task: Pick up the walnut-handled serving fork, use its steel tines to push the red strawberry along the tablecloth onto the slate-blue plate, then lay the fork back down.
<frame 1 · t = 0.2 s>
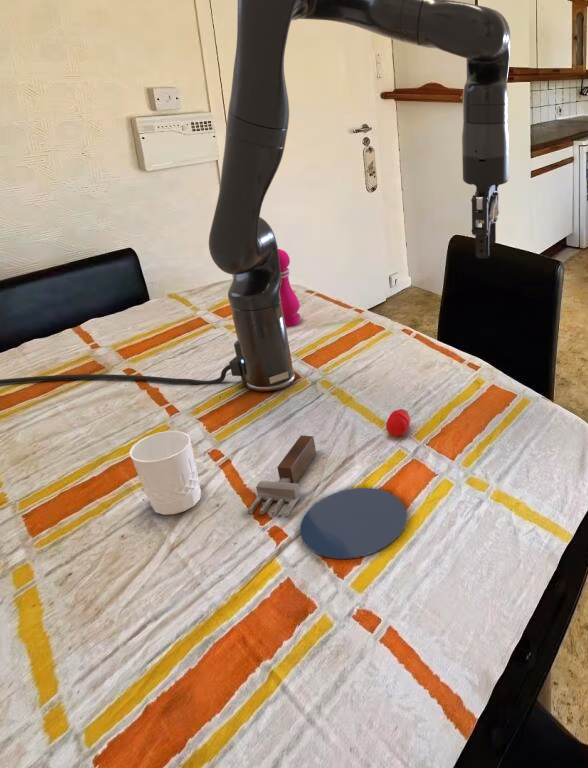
hand: (486, 250, 108), 29 cm above the table, tool pointing down, fingers open, 8 cm apart
fork: (299, 469, 101), on the table
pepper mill: (287, 323, 155), on the table
white cup: (177, 501, 94), on the table
plate: (354, 521, 90), on the table
strawberry: (399, 431, 110), on the table
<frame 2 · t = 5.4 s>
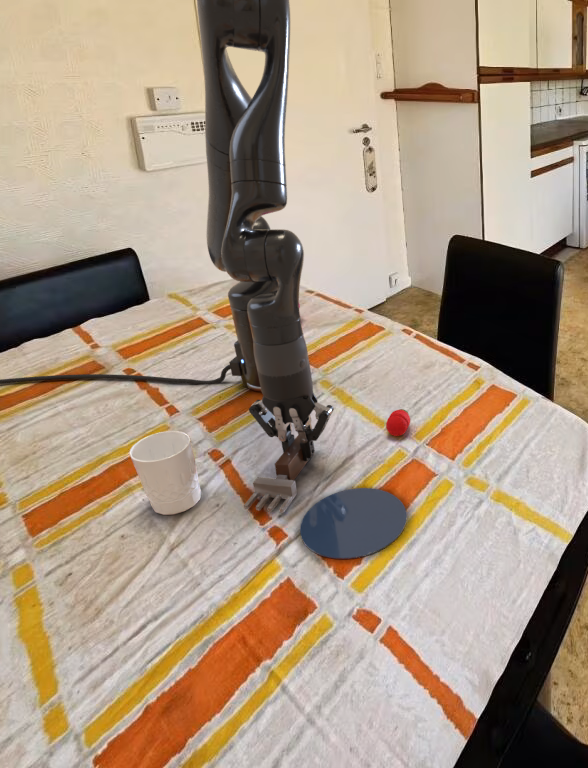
hand: (299, 457, 101), 1 cm above the table, tool pointing down, fingers closed on fork, 2 cm apart
fork: (296, 467, 100), on the table, touching gripper
everything else where it was.
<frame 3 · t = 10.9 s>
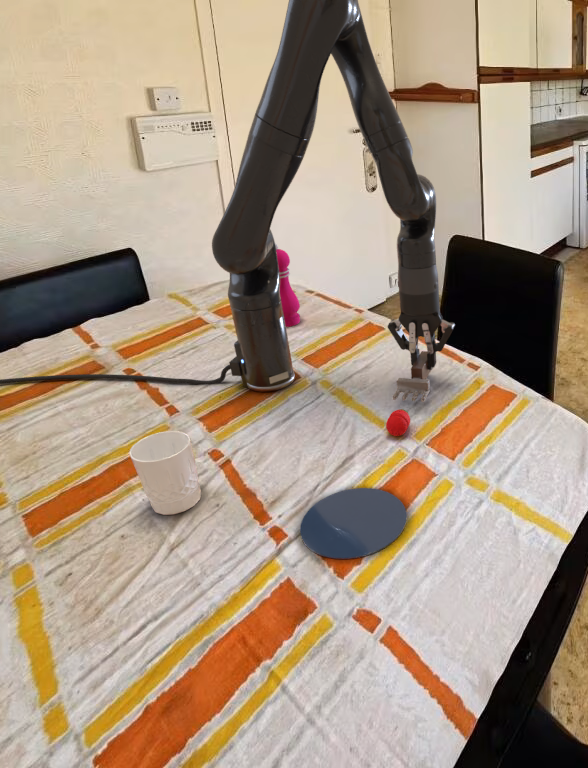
hand: (424, 367, 126), 3 cm above the table, tool pointing down, fingers closed on fork, 2 cm apart
fork: (422, 376, 125), point 2 cm above the table, touching gripper
everything else where it was.
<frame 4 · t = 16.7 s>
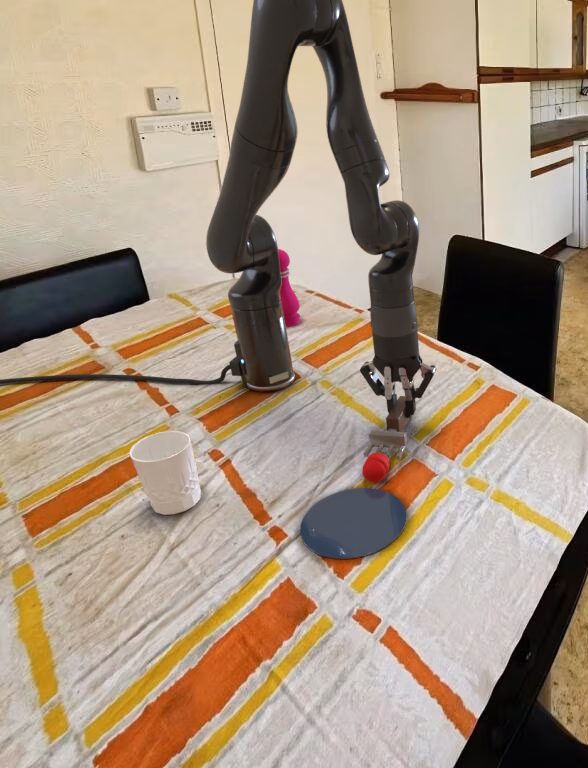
hand: (402, 414, 112), 2 cm above the table, tool pointing down, fingers closed on fork, 2 cm apart
fork: (400, 425, 111), point 1 cm above the table, touching gripper, strawberry
strawberry: (377, 476, 99), on the table, touching fork
everything else where it was.
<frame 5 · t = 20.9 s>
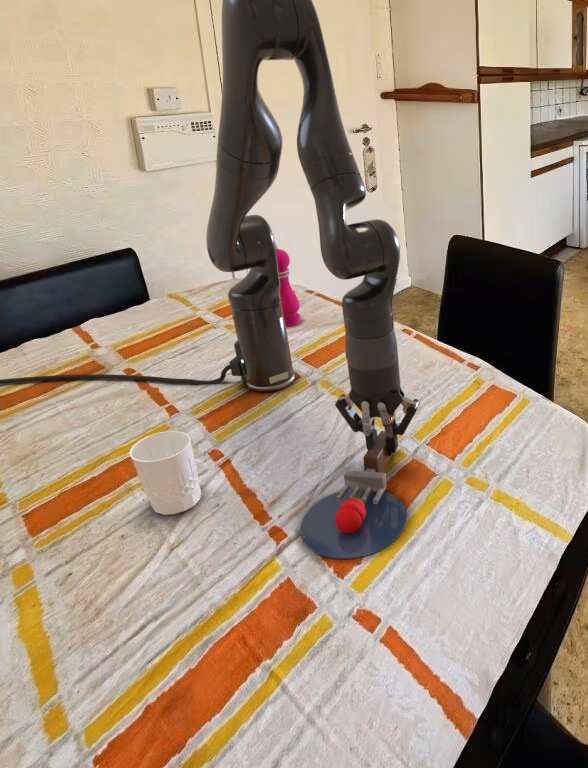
hand: (382, 452, 101), 2 cm above the table, tool pointing down, fingers closed on fork, 2 cm apart
fork: (380, 463, 100), point 1 cm above the table, tilted 6°, touching gripper, strawberry
strawberry: (352, 525, 88), resting on plate, touching fork
everything else where it was.
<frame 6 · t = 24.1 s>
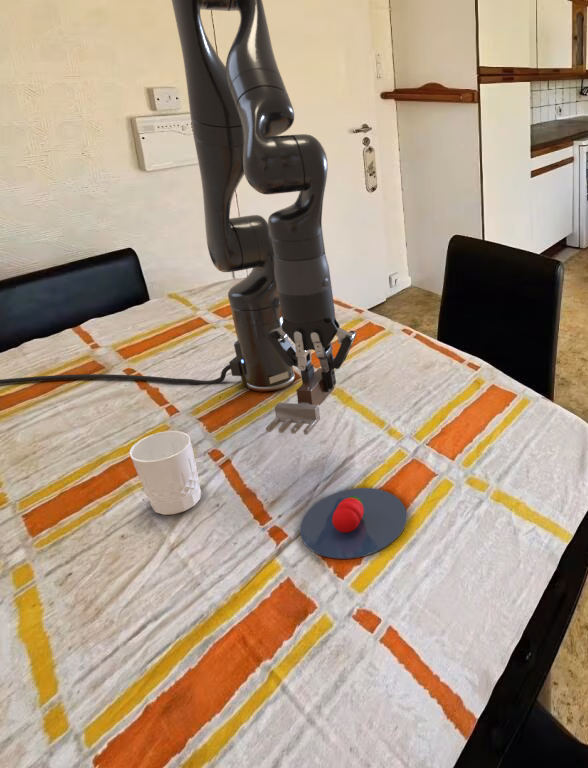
hand: (320, 389, 98), 13 cm above the table, tool pointing down, fingers closed on fork
fork: (317, 400, 97), point 12 cm above the table, tilted 6°, touching gripper
strawberry: (352, 525, 88), resting on plate, tilted 11°
everything else where it was.
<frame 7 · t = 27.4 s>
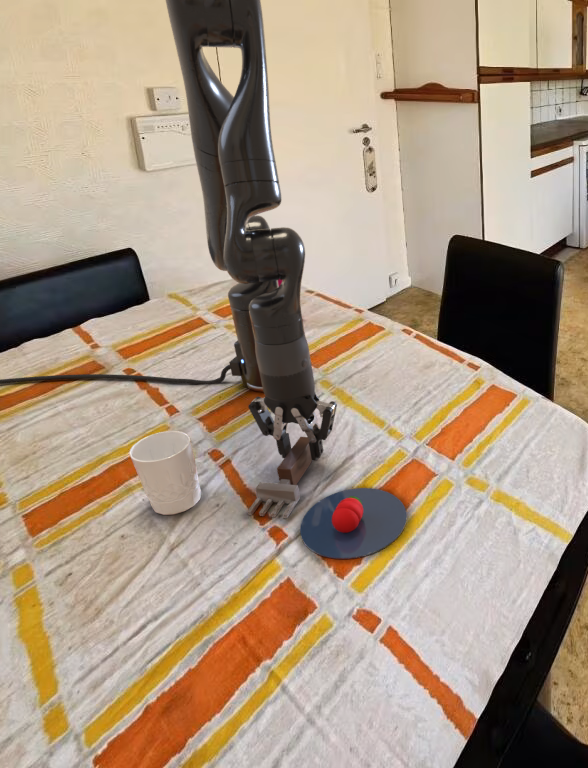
hand: (301, 456, 101), 2 cm above the table, tool pointing down, fingers open, 4 cm apart
fork: (299, 470, 100), on the table
everything else where it was.
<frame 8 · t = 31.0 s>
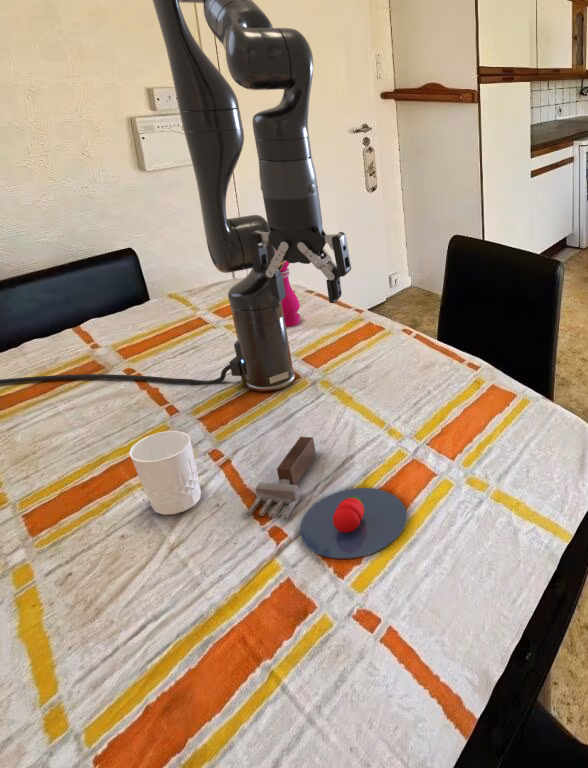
hand: (307, 300, 95), 26 cm above the table, tool pointing down, fingers open, 8 cm apart
nothing on the table moved.
at the end: strawberry inside the target area on the plate (1.1 cm from its centre), point 0.3 cm above the plate's base; the gripper is holding nothing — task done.
